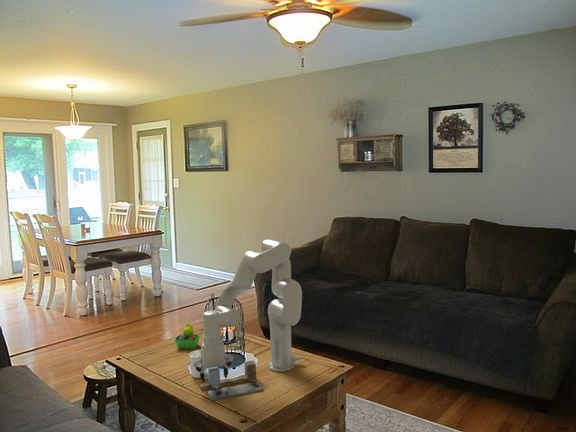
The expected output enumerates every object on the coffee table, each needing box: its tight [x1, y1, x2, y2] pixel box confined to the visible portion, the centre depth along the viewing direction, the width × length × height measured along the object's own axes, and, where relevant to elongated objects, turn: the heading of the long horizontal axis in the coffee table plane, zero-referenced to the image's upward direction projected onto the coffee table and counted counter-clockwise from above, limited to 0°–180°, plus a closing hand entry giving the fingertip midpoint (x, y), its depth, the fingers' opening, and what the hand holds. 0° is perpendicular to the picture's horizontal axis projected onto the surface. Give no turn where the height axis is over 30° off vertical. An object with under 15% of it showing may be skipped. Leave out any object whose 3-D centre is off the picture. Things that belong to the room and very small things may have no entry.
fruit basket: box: [174, 322, 201, 350], centre depth 248 cm, size 11×9×11 cm
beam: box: [199, 360, 257, 391], centre depth 204 cm, size 24×7×8 cm, turn 111°
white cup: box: [188, 349, 208, 379], centre depth 214 cm, size 8×8×10 cm
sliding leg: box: [207, 366, 221, 390], centre depth 201 cm, size 4×7×7 cm, turn 21°
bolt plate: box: [207, 381, 265, 402], centre depth 197 cm, size 22×7×1 cm, turn 111°
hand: (214, 378), depth 202 cm, fingers open, 9 cm apart
